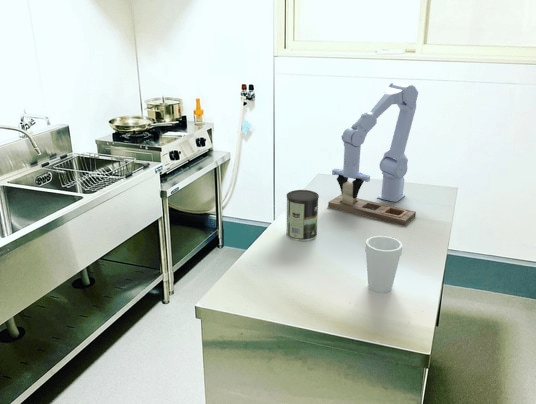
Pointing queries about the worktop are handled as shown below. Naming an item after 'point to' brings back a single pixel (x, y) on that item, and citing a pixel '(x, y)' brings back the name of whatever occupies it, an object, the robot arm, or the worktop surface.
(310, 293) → the worktop surface
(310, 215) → the coffee can
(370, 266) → the foam cup
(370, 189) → the worktop surface
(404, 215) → the brown slotted board
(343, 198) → the peg
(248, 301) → the worktop surface
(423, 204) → the worktop surface
